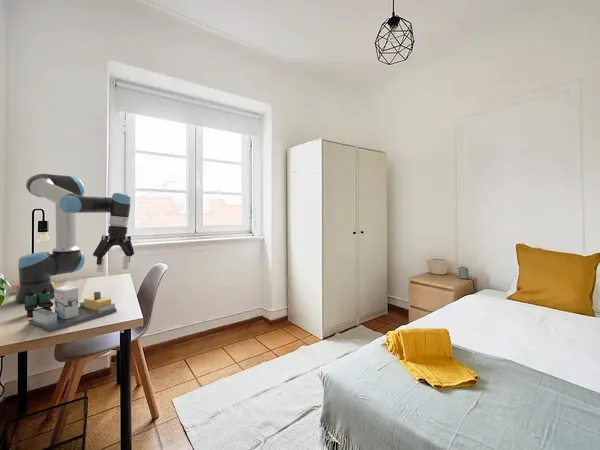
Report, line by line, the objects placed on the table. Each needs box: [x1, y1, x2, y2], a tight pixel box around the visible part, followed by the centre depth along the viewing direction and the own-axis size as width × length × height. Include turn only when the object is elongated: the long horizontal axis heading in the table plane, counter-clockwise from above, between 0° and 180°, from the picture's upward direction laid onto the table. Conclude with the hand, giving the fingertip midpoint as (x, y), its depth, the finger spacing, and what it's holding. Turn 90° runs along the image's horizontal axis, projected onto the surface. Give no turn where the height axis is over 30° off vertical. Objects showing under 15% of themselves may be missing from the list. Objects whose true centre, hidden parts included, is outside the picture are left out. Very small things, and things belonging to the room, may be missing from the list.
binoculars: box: [24, 288, 55, 318], centre depth 120 cm, size 9×11×10 cm
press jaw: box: [83, 290, 112, 310], centre depth 123 cm, size 12×5×7 cm, turn 63°
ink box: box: [53, 285, 79, 319], centre depth 113 cm, size 9×5×12 cm, turn 65°
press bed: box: [27, 301, 117, 333], centre depth 116 cm, size 18×24×6 cm
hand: (113, 270), depth 130 cm, fingers open, 13 cm apart
